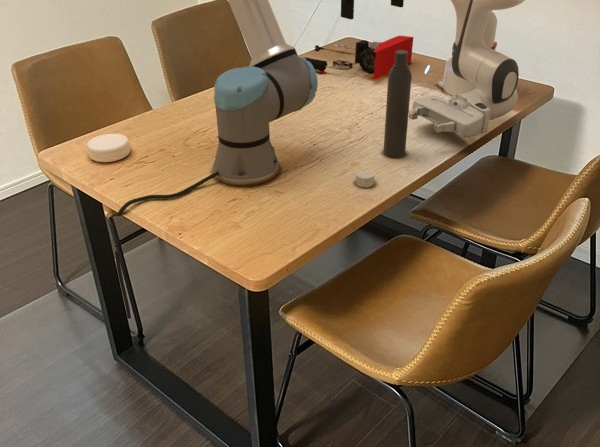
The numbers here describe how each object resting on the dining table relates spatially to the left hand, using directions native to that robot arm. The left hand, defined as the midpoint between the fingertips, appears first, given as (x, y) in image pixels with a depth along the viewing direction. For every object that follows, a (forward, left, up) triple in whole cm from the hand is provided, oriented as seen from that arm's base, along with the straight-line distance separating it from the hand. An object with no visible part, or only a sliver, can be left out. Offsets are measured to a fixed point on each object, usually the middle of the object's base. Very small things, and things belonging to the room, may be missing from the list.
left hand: (372, 12), depth 120 cm
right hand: (+25, +5, -32) cm, 41 cm away
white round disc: (-36, +53, -38) cm, 74 cm away
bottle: (+16, +6, -38) cm, 42 cm away
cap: (0, 0, -36) cm, 36 cm away
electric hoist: (+56, +61, -38) cm, 91 cm away
